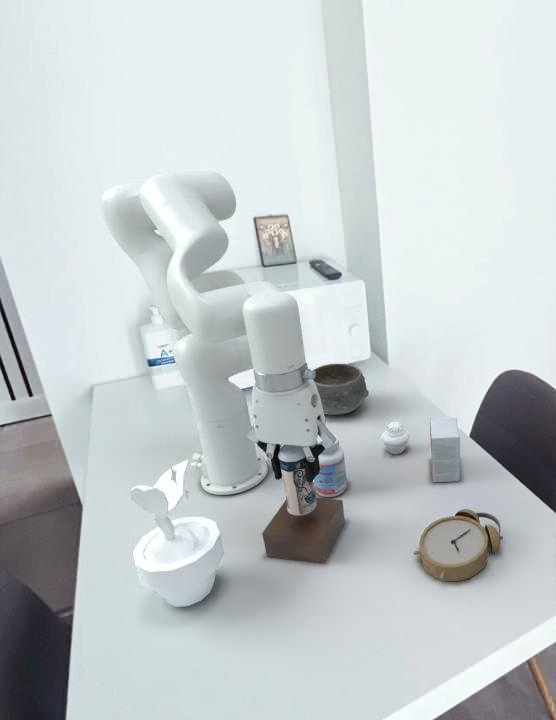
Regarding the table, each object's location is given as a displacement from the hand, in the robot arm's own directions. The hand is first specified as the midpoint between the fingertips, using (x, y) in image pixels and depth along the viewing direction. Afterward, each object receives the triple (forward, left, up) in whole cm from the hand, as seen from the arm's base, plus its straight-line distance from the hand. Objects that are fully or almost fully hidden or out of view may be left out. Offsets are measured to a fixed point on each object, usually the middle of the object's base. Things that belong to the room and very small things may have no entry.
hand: (297, 475), depth 89 cm
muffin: (+8, +29, -13) cm, 33 cm away
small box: (+20, +23, -13) cm, 33 cm away
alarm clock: (+27, +1, -13) cm, 30 cm away
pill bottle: (-1, +14, -13) cm, 19 cm away
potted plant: (-13, -13, -13) cm, 23 cm away
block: (0, 0, -13) cm, 13 cm away
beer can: (0, 0, -7) cm, 7 cm away
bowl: (-11, +45, -13) cm, 48 cm away
